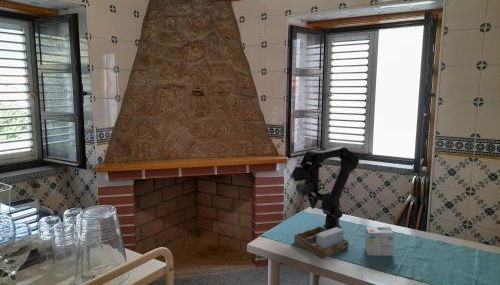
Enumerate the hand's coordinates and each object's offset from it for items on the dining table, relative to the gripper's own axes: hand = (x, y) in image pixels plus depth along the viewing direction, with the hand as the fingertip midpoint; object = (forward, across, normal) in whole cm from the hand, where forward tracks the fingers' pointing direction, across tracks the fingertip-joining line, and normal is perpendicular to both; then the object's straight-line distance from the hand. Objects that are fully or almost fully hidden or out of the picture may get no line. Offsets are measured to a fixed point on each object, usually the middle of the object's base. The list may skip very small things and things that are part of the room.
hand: (312, 208), depth 172 cm
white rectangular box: (+12, +17, -5) cm, 22 cm away
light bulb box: (+13, +30, +11) cm, 35 cm away
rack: (+13, +11, -5) cm, 18 cm away
